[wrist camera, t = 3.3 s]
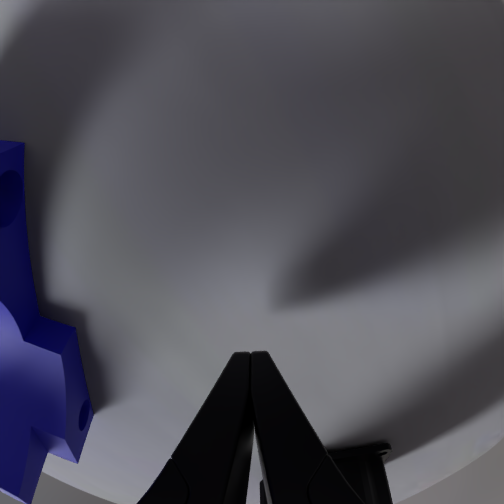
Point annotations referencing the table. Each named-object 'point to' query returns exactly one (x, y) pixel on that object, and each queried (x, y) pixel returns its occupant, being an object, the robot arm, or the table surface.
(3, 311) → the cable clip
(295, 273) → the table surface
